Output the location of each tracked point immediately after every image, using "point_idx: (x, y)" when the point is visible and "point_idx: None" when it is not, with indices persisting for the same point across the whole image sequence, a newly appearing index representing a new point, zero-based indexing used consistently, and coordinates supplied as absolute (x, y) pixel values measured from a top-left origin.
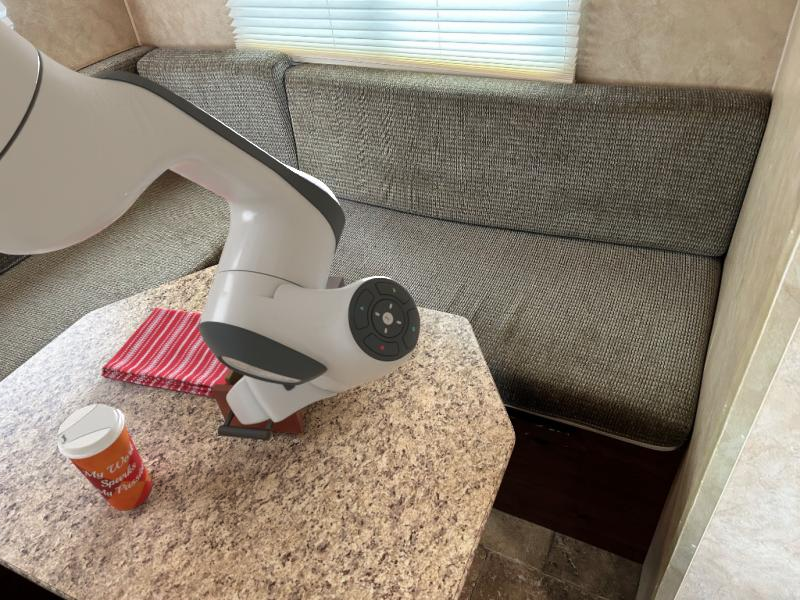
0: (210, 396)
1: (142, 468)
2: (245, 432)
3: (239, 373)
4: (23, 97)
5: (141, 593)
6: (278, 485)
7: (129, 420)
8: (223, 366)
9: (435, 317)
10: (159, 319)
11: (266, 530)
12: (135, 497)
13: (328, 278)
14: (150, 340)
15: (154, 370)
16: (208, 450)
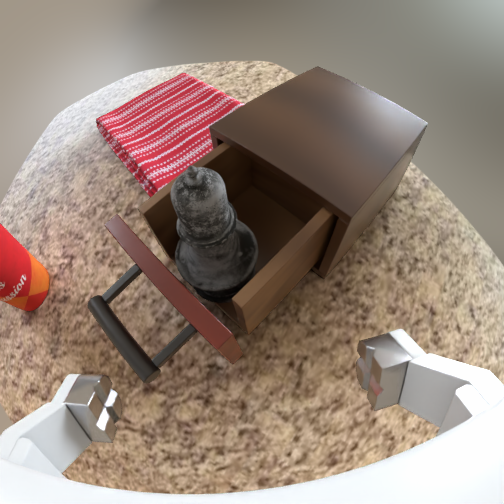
0: None
1: (21, 284)
2: (117, 345)
3: None
4: None
5: (5, 411)
6: (158, 419)
7: (79, 189)
8: None
9: (492, 252)
10: (177, 84)
11: (117, 465)
12: (20, 307)
13: (405, 113)
14: (154, 102)
15: (129, 138)
16: None
